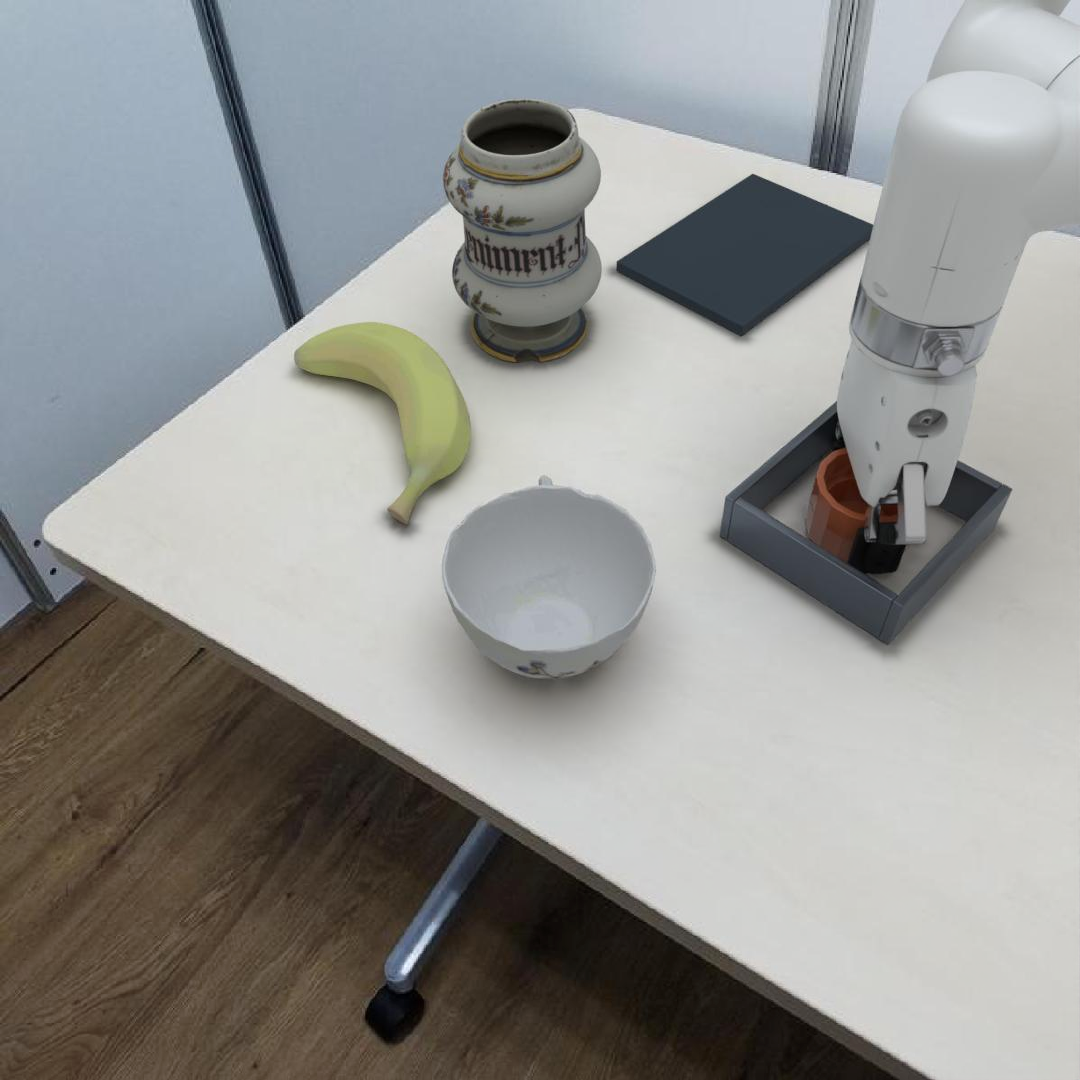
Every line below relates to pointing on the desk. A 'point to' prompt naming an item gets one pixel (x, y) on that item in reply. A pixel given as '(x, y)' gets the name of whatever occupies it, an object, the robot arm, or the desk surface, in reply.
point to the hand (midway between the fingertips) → (858, 524)
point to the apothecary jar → (524, 228)
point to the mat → (745, 252)
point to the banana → (400, 395)
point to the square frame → (828, 573)
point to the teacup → (548, 579)
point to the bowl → (839, 506)
